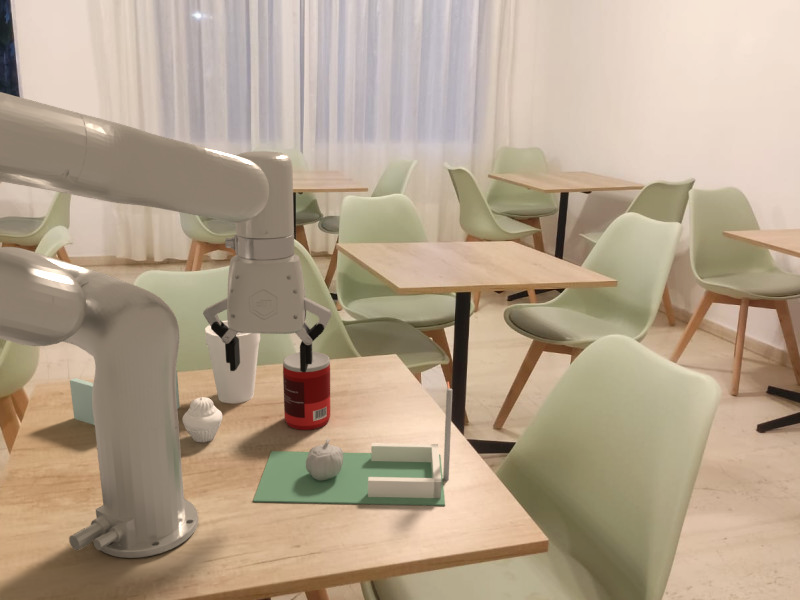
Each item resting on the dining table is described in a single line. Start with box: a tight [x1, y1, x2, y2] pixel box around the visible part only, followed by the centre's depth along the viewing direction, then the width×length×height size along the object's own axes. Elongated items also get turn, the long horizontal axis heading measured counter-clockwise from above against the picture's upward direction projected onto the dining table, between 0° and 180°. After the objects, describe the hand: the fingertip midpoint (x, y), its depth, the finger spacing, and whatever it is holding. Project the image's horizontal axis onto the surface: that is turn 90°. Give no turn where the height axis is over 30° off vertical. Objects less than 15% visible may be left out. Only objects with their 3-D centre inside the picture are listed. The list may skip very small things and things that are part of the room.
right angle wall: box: [69, 369, 181, 426], centre depth 124 cm, size 12×12×8 cm
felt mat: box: [252, 450, 446, 507], centre depth 106 cm, size 26×14×1 cm, turn 90°
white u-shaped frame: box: [368, 381, 453, 498], centre depth 104 cm, size 11×11×14 cm
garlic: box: [306, 438, 343, 481], centre depth 105 cm, size 6×5×5 cm
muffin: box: [181, 396, 224, 443], centre depth 116 cm, size 6×6×7 cm
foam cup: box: [204, 320, 261, 404], centre depth 131 cm, size 10×9×13 cm
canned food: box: [282, 351, 331, 431], centre depth 122 cm, size 8×8×11 cm
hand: (269, 368), depth 102 cm, fingers open, 9 cm apart
